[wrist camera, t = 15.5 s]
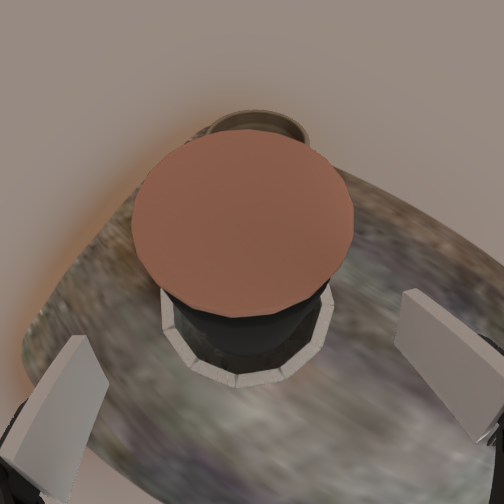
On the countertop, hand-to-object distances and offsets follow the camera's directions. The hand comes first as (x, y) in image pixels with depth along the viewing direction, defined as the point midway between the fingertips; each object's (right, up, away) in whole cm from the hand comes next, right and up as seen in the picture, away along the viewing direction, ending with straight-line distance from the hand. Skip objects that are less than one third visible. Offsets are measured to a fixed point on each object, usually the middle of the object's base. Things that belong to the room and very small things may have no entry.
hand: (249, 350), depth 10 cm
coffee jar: (0, -2, +19) cm, 19 cm away
